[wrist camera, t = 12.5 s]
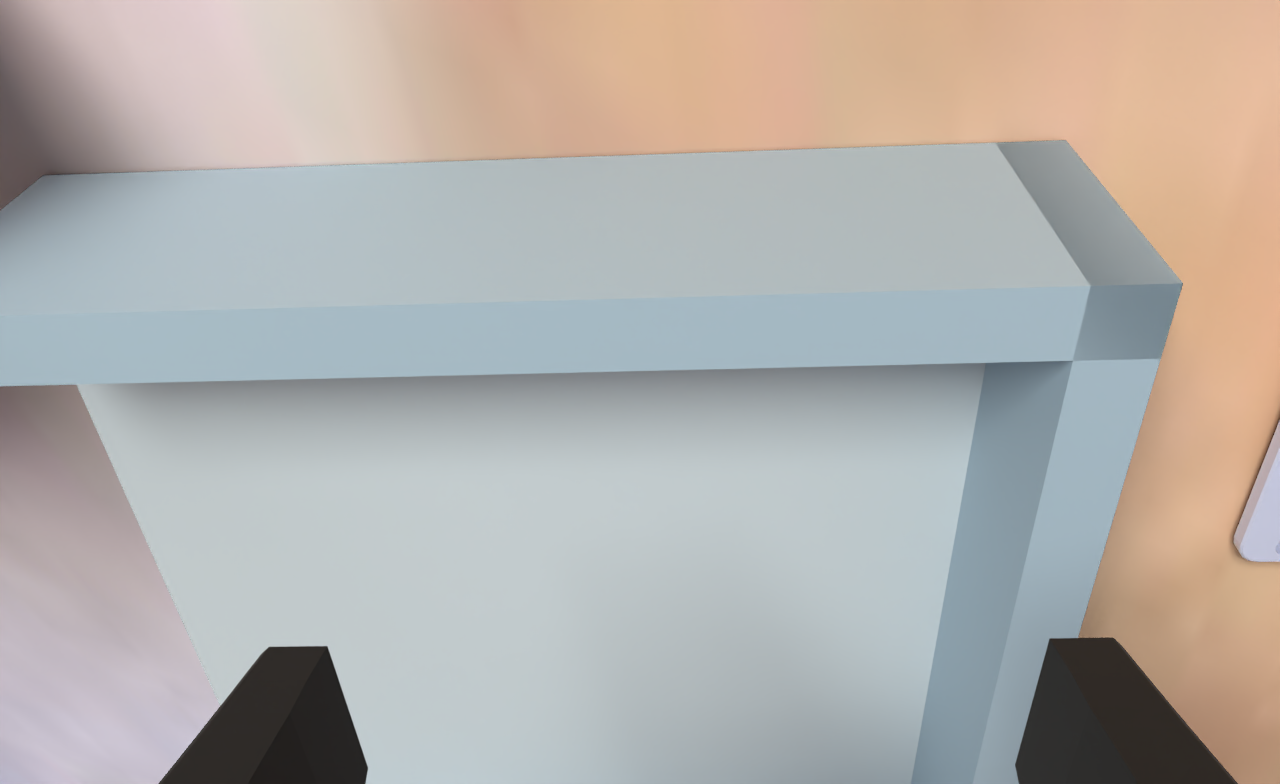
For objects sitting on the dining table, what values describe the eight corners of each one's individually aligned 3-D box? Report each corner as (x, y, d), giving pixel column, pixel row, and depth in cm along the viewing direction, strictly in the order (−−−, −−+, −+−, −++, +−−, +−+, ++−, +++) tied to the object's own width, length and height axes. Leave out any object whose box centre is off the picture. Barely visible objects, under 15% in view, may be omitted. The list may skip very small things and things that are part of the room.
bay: (1065, 139, 18) (1182, 283, 14) (933, 797, 29) (975, 983, 25) (43, 175, 19) (-134, 319, 15) (299, 799, 30) (240, 979, 26)
